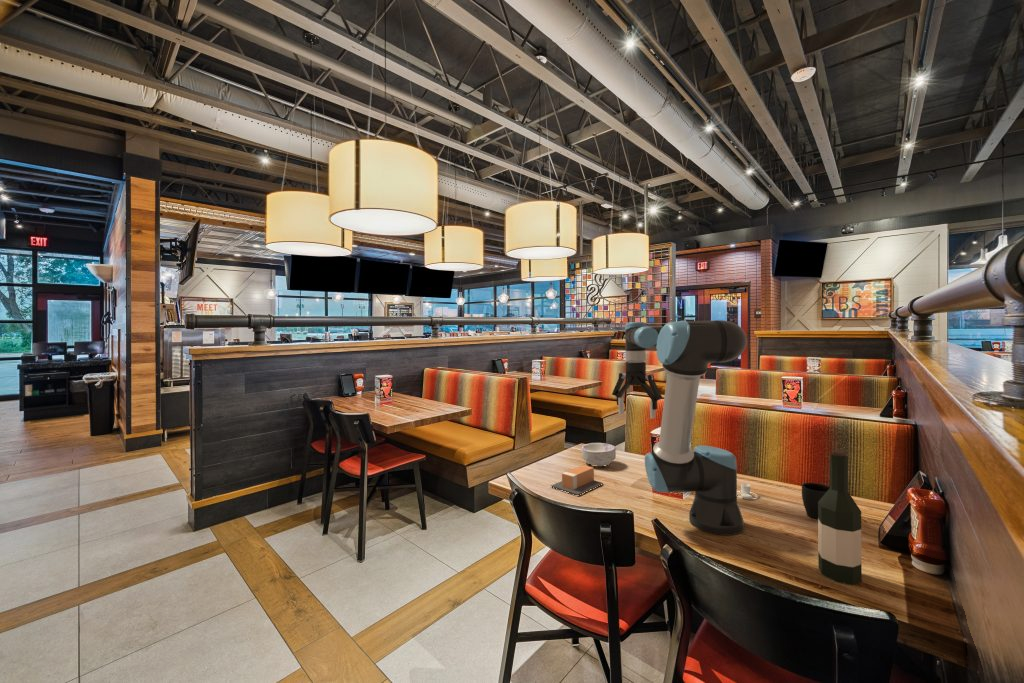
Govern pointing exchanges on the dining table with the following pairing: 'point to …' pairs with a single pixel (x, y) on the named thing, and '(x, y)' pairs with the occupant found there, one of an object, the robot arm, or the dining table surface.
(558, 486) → the mat
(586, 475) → the orange wooden block
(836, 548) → the wine bottle
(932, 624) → the dining table surface
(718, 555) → the dining table surface
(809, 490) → the mug
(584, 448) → the grey bowl
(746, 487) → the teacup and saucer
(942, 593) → the dining table surface
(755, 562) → the dining table surface
